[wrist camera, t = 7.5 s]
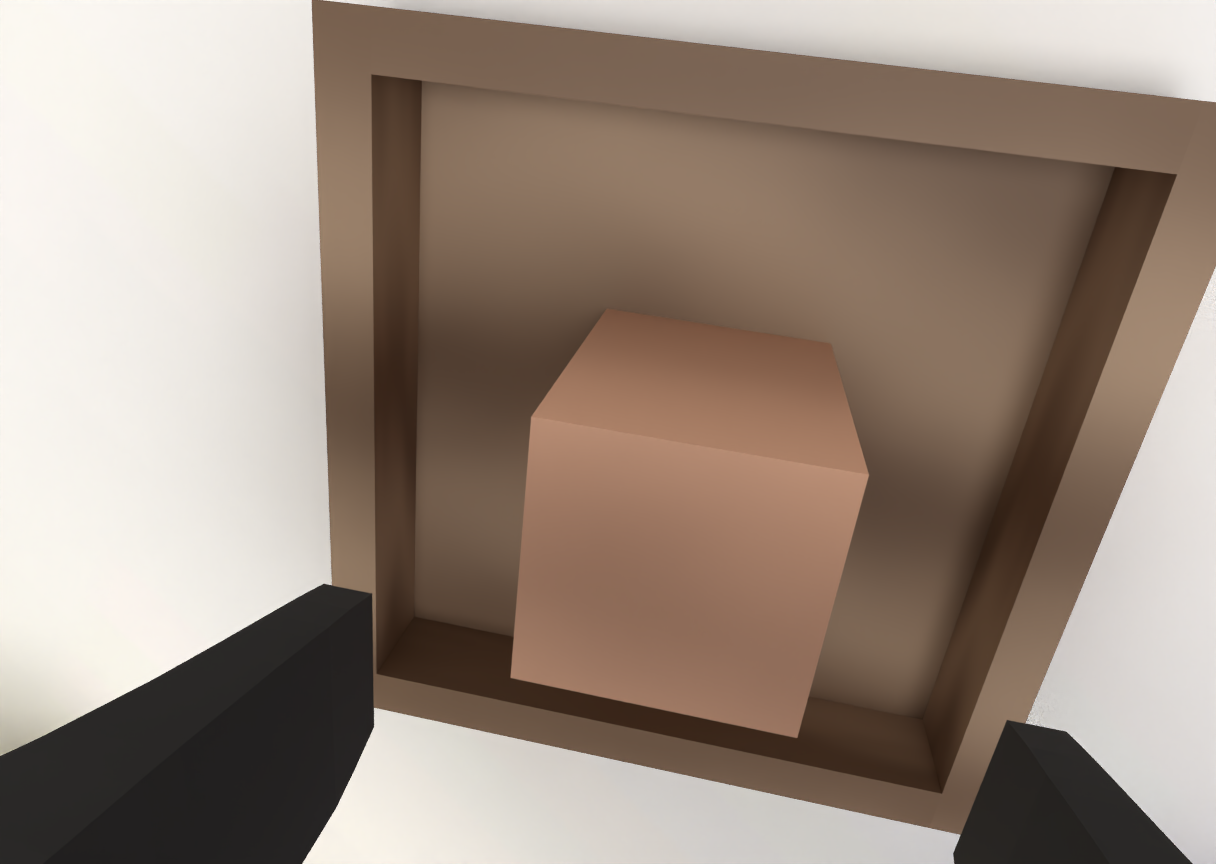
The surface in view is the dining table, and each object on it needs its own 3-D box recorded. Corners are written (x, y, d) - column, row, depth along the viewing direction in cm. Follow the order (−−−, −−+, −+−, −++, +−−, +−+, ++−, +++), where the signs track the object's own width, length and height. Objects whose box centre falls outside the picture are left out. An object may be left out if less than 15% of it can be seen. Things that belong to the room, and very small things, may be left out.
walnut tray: (947, 735, 20) (977, 838, 17) (389, 622, 22) (336, 699, 19) (1179, 106, 14) (1281, 110, 11) (389, 15, 16) (312, -1, 13)
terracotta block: (784, 538, 18) (797, 737, 12) (584, 502, 18) (510, 677, 13) (830, 343, 16) (869, 474, 10) (607, 308, 16) (531, 416, 11)
